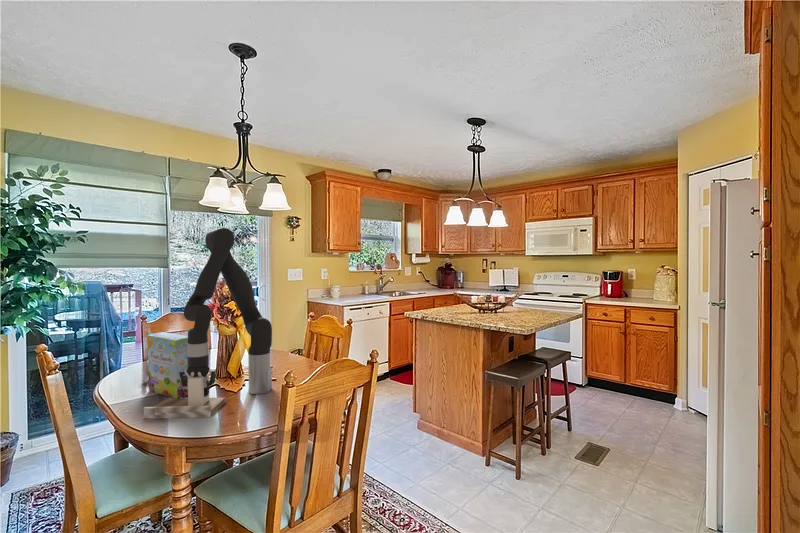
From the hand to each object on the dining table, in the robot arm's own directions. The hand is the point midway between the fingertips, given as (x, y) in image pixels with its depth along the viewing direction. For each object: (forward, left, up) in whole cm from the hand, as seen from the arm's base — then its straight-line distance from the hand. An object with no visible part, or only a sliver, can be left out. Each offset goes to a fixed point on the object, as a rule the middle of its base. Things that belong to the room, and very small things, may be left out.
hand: (198, 396), depth 154 cm
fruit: (+37, -39, -5) cm, 54 cm away
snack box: (+21, -19, -5) cm, 29 cm away
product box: (0, 0, -3) cm, 3 cm away
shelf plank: (+4, +1, -5) cm, 6 cm away
